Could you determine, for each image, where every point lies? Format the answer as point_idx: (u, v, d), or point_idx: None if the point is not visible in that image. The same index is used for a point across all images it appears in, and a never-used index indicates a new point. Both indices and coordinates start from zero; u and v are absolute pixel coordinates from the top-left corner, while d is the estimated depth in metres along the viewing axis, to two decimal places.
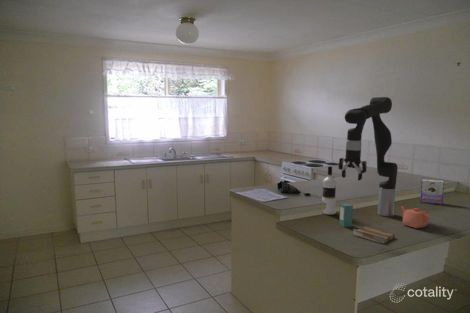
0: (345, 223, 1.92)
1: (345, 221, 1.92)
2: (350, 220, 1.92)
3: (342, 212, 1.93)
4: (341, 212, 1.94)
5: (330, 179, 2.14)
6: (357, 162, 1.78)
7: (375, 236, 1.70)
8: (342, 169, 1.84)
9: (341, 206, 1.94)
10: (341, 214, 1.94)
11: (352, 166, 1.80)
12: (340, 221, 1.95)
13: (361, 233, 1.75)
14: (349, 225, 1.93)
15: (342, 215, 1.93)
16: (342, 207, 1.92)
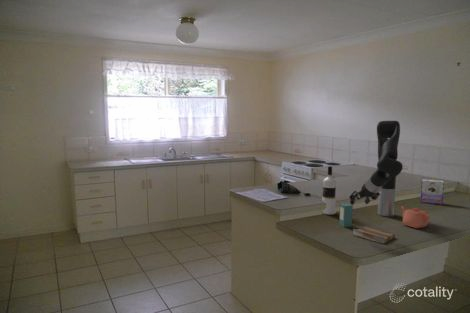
0: (345, 223, 1.92)
1: (345, 221, 1.92)
2: (350, 220, 1.92)
3: (342, 212, 1.93)
4: (341, 212, 1.94)
5: (330, 179, 2.14)
6: None
7: (375, 236, 1.70)
8: (355, 201, 1.76)
9: (341, 206, 1.94)
10: (341, 214, 1.94)
11: (366, 197, 1.76)
12: (340, 221, 1.95)
13: (361, 233, 1.75)
14: (349, 225, 1.93)
15: (342, 215, 1.93)
16: (342, 207, 1.92)
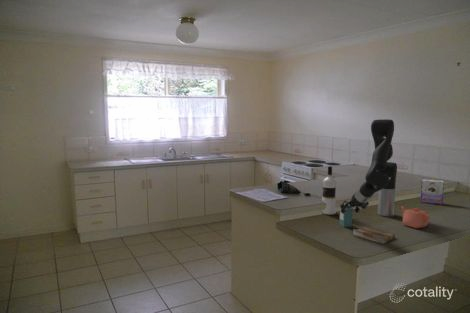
0: (345, 223, 1.92)
1: (345, 221, 1.92)
2: (350, 220, 1.92)
3: None
4: None
5: (330, 179, 2.14)
6: None
7: (375, 236, 1.70)
8: (345, 210, 1.86)
9: None
10: (341, 214, 1.94)
11: (355, 207, 1.85)
12: (340, 221, 1.95)
13: (361, 233, 1.75)
14: (349, 225, 1.93)
15: (342, 215, 1.93)
16: None
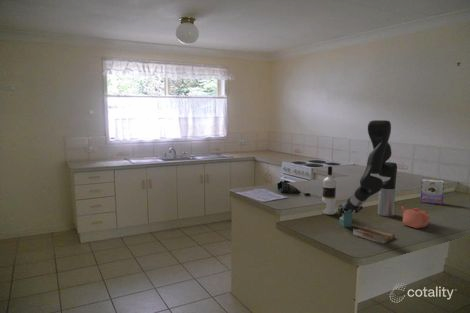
0: (345, 223, 1.92)
1: (346, 221, 1.92)
2: (350, 220, 1.92)
3: None
4: None
5: (330, 179, 2.14)
6: None
7: (375, 236, 1.70)
8: (342, 214, 1.91)
9: None
10: None
11: (350, 210, 1.89)
12: (340, 221, 1.95)
13: (361, 233, 1.75)
14: (349, 225, 1.93)
15: (342, 215, 1.93)
16: None
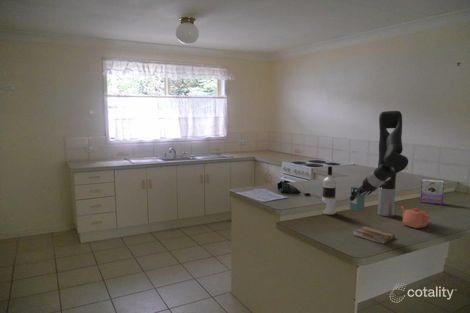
0: (358, 207, 1.81)
1: (359, 205, 1.81)
2: (362, 203, 1.82)
3: None
4: None
5: (330, 179, 2.14)
6: None
7: (375, 236, 1.70)
8: None
9: (353, 189, 1.82)
10: None
11: None
12: (352, 205, 1.83)
13: (361, 233, 1.75)
14: (362, 208, 1.82)
15: (355, 198, 1.81)
16: None
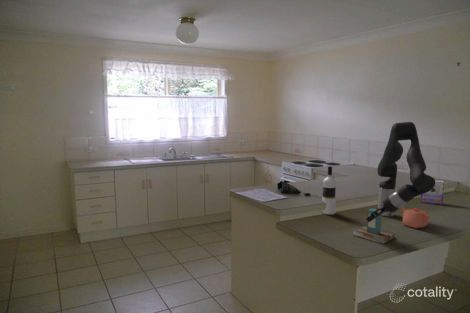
0: (377, 231, 1.74)
1: (377, 229, 1.74)
2: (379, 226, 1.75)
3: (373, 219, 1.74)
4: None
5: (330, 179, 2.14)
6: None
7: (375, 236, 1.70)
8: None
9: (370, 212, 1.74)
10: (371, 221, 1.75)
11: None
12: (369, 229, 1.76)
13: (361, 233, 1.75)
14: (379, 232, 1.76)
15: (373, 222, 1.74)
16: None
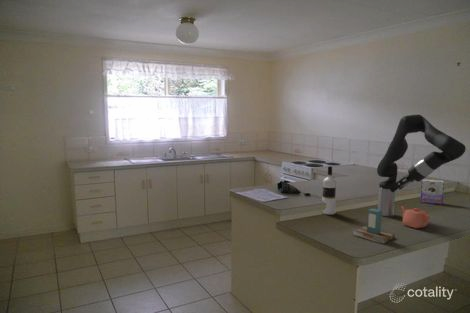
0: (377, 231, 1.74)
1: (377, 229, 1.74)
2: (379, 226, 1.75)
3: (373, 219, 1.74)
4: (371, 219, 1.75)
5: (330, 179, 2.14)
6: (413, 179, 1.66)
7: (375, 236, 1.70)
8: (399, 187, 1.64)
9: (370, 212, 1.74)
10: (371, 221, 1.75)
11: None
12: (369, 229, 1.76)
13: (361, 233, 1.75)
14: (379, 232, 1.76)
15: (373, 222, 1.74)
16: (373, 213, 1.73)
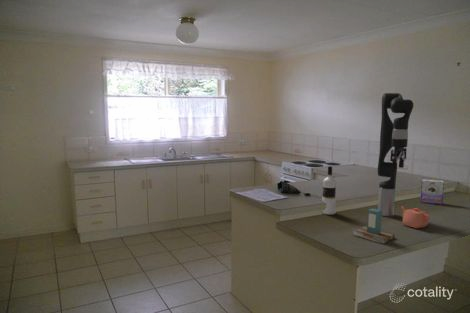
0: (377, 231, 1.74)
1: (377, 229, 1.74)
2: (379, 226, 1.75)
3: (373, 219, 1.74)
4: (371, 219, 1.75)
5: (330, 179, 2.14)
6: (403, 150, 1.83)
7: (375, 236, 1.70)
8: (397, 160, 1.78)
9: (370, 212, 1.74)
10: (371, 221, 1.75)
11: (401, 155, 1.81)
12: (369, 229, 1.76)
13: (361, 233, 1.75)
14: (379, 232, 1.76)
15: (373, 222, 1.74)
16: (373, 213, 1.73)
